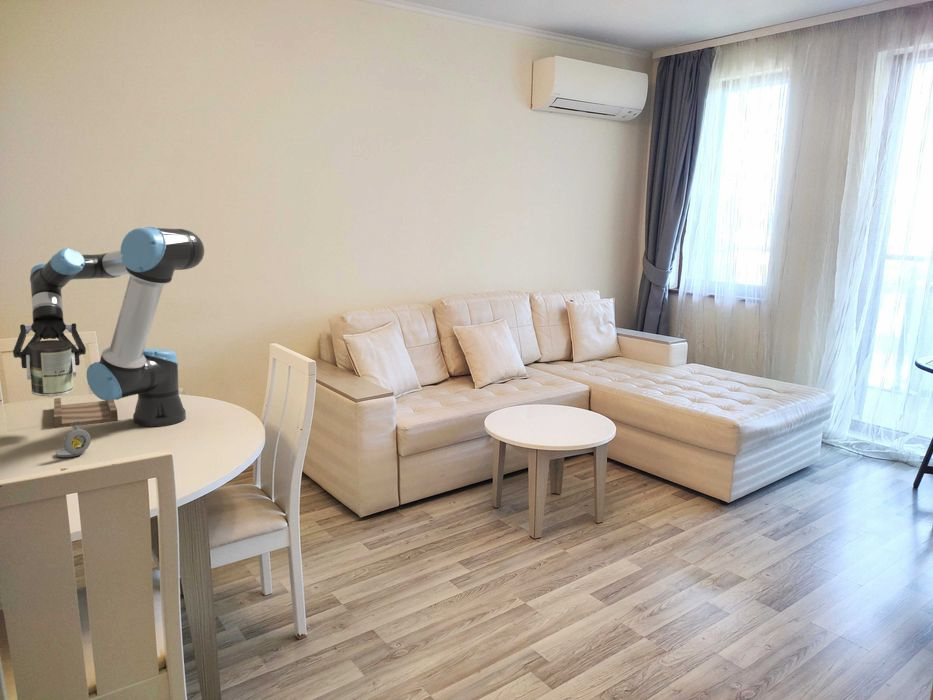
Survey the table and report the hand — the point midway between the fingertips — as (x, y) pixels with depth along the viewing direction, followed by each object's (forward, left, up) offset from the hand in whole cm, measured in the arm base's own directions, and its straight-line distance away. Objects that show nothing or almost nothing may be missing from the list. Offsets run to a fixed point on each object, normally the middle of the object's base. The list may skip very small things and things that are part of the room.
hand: (52, 375), depth 173 cm
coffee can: (+3, -2, -5) cm, 6 cm away
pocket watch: (-17, +10, -18) cm, 27 cm away
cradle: (+12, -20, -18) cm, 29 cm away
